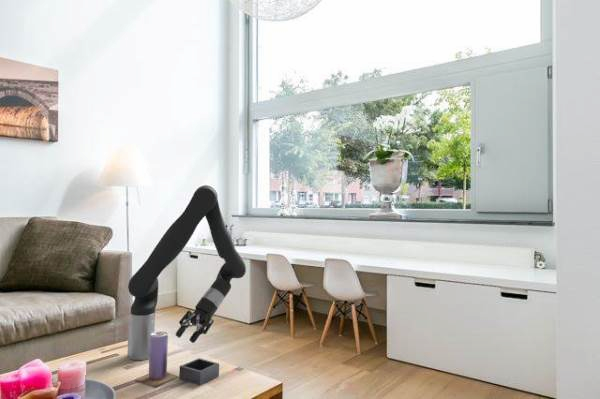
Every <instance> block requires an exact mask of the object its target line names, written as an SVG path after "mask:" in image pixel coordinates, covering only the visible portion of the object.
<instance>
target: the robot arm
mask: <svg viewBox="0 0 600 399" xmlns="http://www.w3.org/2000/svg"><path fill="white" fill-rule="evenodd" d="M219 204H220V203H219V199H218V192H217V190H216V189H215V188H214V187H212V186H211V185H207V184H206V185H201V186H199V187H197V189H196V190H195V191H194V193H193V195H192V197H191V199H190V201H189V202H188V204H187V205H186V207H185V209H184V210H183V211H182V213H181V214H180V215H179V216H178V217H177V219H176V220H174V221H173V223H172V224H171V225H170V226H169V227H168V228H167V230H165V232H164V234H163V235H162V237H161V239H160V240H159V241H158V243H157V244H156V246H155V247H154V249H153V250H152V251H151V253H150V255H149V256H148V258H147V259H146V261H144V262H143V264H142V266H141V267H140V268H138V270H137V271H136V272H135V273H134V275H132V276H131V278H130V279H129V282H128V284H127V285H128V286H127V288H128V292H129V294H130V296H132V297H134V300H133V303H132V304H131V306H130V316H129V317H130V318H129V320H130V321H129V331H128V333H127V357H128V358H129V359H130V360H134V361H144V360H149V351H150V336H151V333H154V332H156V331H155V330H156V329H155V328H156V327H155V326H156V308H157V304H158V299H159V298H158V296H159V279H158V277H159V276H160V274H162V273H163V271H164V270H165V269H166V268H167V267H168V266H169V265H170V264H172V262H173V261H174V260H175V259H176V258H177V257H178V256H179V254H181V253H182V251H183V250H184V248H185V247H186V246H187V244H188V242H189V241H190V239H191V238H192V236H193V234H194V232H195V230H196V229H197V227H198V225H199V224H200V222H201V221H202V220H203V219H204V218H205V219H206V221H207V225H208V227H209V232H210V235H211V239H212V242H213V244H214V248H215V250H216V252H217V254H218V256H219V258H221V259H223V260H225V262H224V263H223V265H222V266H220V269H219V271H218V273H217V276H216V277H215V280H214V282H212V284H211V285H210V287H209V288H207V290H206V291H205V293H203V295H202V297H201V298H200V299H199V301H197V303H196V305H195V310H194V311H193V312H192V311H191V310H188V311H186V313H185V314H184V315H183V316H182V317H181V319H180V320H179V321H178V323H179V325H180V327H179V328H178V329H177V330H176V333H175V336H176V337H177V338H181V337H182V335H183V334H184V333H185V331H186V329H188V328H190V327H191V328H192V327H196V328H195V330H194V332H193V333H192V335H191V336H190V338H189V341H190V343H192V344H195V342H196V341H197V340H198V338H199V337H200V336H201V335H206V334H207V333H208V331H209V330H210V328H211V327H212V325H213V323H214V319H213V316H214V315H215V314H216V312H218V309H219V308H220V306H221V305H222V303H223V301H224V300H225V298H226V297H227V295H228V294H229V292H230V291H231V289H232V285H231V280H232V279H241V278H243V277H244V276H245V274H246V271H247V269H246V268H247V267H246V264H245V262H244V260H243V258H242V257H241V255H240V254H239V252H238V251H237V250H236V247H235V245H234V242H233V240H232V236H231V235H230V232H229V230H228V228H227V225H226V223H225V221H224V220H225V219H224V218H223V215H222V212H221V209H220V205H219Z"/></svg>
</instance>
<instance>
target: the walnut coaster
mask: <svg viewBox="0 0 600 399" xmlns="http://www.w3.org/2000/svg"><path fill="white" fill-rule="evenodd" d="M177 379H179V375H176V374H173V373H170V372H167V375H166V377H165V378H164V379H161V380H152V379H150V378H149V373H147V374H145V375H142V376H140V377H137V378H135V382H138V383H141V384H144V385H147V386H150V387H153V388H158V387H161V386H163V385H166V384H167V383H171V381H174V380H177Z"/></svg>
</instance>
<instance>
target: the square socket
mask: <svg viewBox="0 0 600 399" xmlns="http://www.w3.org/2000/svg"><path fill="white" fill-rule="evenodd" d="M178 374H179V375H178V379H179V380H181V381H184V382H188V383H191V384H194V385H196V386H202V385H205V384H207V383H208V382H210V381H212V380H215V379H217V377H219V376H220V363H219V362H215V361H212V360H208V359H204V358H201V357H200V358H196V359H194V360H191V361H189V362H186V363H184V364H181V365H179V373H178Z"/></svg>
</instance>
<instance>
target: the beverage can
mask: <svg viewBox="0 0 600 399" xmlns="http://www.w3.org/2000/svg"><path fill="white" fill-rule="evenodd" d="M168 343H169V336H168V332H166V331H155V332H154V333H151V336H150V351H149V359H148V374H149V378H150V379H152V380H161V379H164V378H165V377H166V375H167V373H168V349H169V348H168V345H169V344H168Z"/></svg>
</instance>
